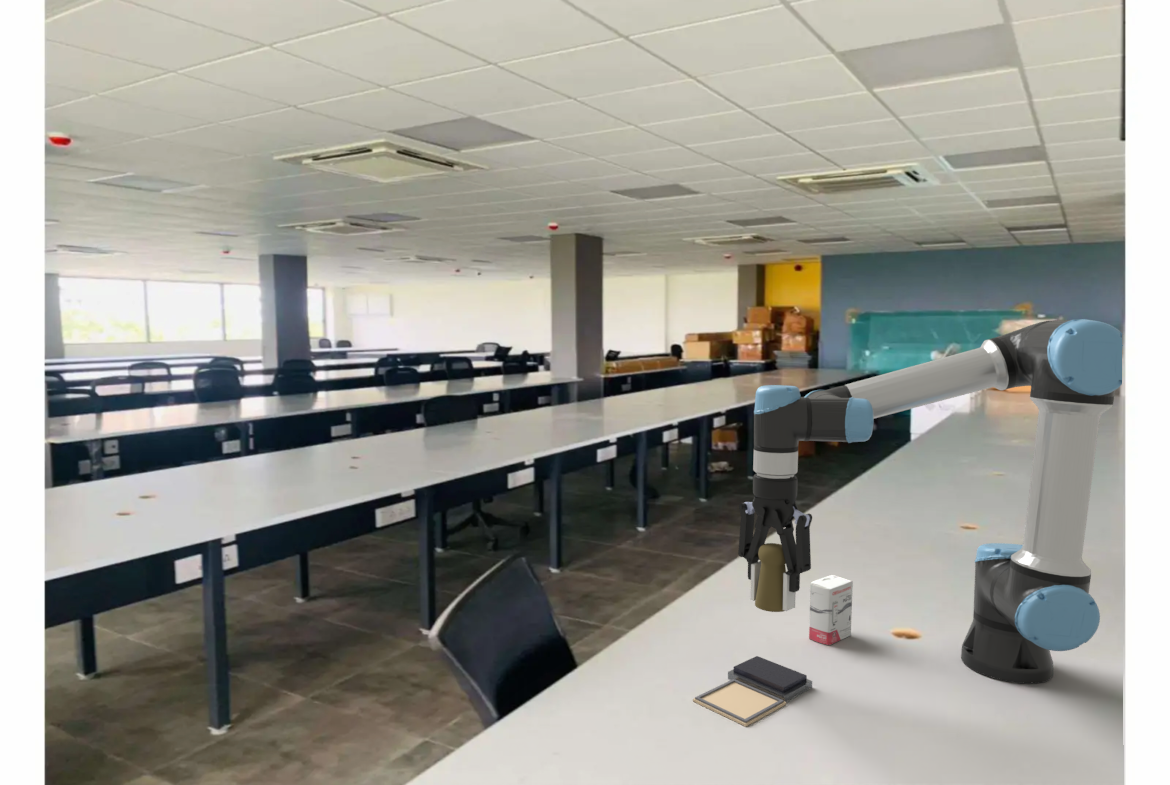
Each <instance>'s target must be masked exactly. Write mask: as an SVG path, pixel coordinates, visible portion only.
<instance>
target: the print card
mask: <svg viewBox="0 0 1170 785" xmlns="http://www.w3.org/2000/svg"><path fill="white" fill-rule="evenodd" d="M692 702H693V703H696V704H698V705H699V706H700V705H701V706H702V707H704V708H706V709H708V710H710V711H712V712H715V713H717V714H719V715H720V716H723V717H725V718H727V719H728V720H731V721H733V722H735V723H738V725H739V724H740V725H742V726H744V727H748V726H749V725H752V724H753V723H755V722H757V721H759V720H760V719H762V718H764V717H767V715H770V714H771V713H773V712H775V711H776V710H779V709H780V708H782V707H784V706H786V704H787V702H784V700H782V699H780V698H777V697H775V696H773V695H770V694H768V693H766V692H763V691H761V690H759V689H756V688H754V687H752V686H749V685H747V684H745V683H742V682H740V681H738V680H735V679H732V680H731V679H729V681H727V682H724V683H722V684H720V685H718V686H715V687H713V688H711V689H710V690H707V691H705V692H704V693H701V694H699V695H697V696H695V697H694V698H693V699H692Z"/></svg>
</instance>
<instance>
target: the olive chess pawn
mask: <svg viewBox="0 0 1170 785" xmlns="http://www.w3.org/2000/svg"><path fill="white" fill-rule="evenodd" d="M758 556H759V560H758V561H761V568H760V574H759V581H758V587H757V594H756V600H755V601H754V606H755V607H756V608H757V609H759V610H762V611H764V612H771V613H782V612H785V611H784V610H783V573H785V572H787V566H786V562H785V558H784V553H783V549H782V545H781V543H773V542H769V543H765V544H763V545H761V547H760V548H759V551H758Z"/></svg>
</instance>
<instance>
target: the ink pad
mask: <svg viewBox="0 0 1170 785" xmlns="http://www.w3.org/2000/svg"><path fill="white" fill-rule="evenodd" d="M727 679H728V680H732V679H735V680H738V681H740V682H742V683H745V684H747V685H749V686H752V687H754V688H756V689H759V690H761V691H763V692H766V693H768V694H770V695H773V696H775V697H777V698H780V699H782V700H784V702H786V703H787V702H788V701H790V700H792V699H794V698H795V697H798V696H799V695H801V694H804V693H805V692H807V691H809V690H810V689H812V688H813V680H810V679H809V678H807V674H805V673H801V672H799V671H796V670H795V669H792V668H788V667H786V666H784V665H781V664H779V663H776V662H774V661H771V660H768V659H765V658H763V657H761V656H758V655H756V656H754V657H751V658H749V659H748V660H745V661H743V662H741V663H738V664H736V665H735V666H733V669H731V670H729V671H727Z"/></svg>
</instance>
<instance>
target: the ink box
mask: <svg viewBox="0 0 1170 785" xmlns="http://www.w3.org/2000/svg"><path fill="white" fill-rule="evenodd" d="M853 583H854V581H853V580H850V579H846V578H844V577H842V576H841V577H840V576H838V575H835V574H830V575H827V576H824V577H821V578H818V579H815V580H813V581H811V582H810V585H809V586H810V587H809V620H808V621H809V622H808V623H809V628H808V630H809V631H808V639H809V640H811V641H814V642H816V643H821V644H822V645H827V646H832V645H833V644H835V643H837V642H840V641H842V640H844V639H846V638H848V637H851V636H852V614H853V612H852V610H853V607H852V606H853V586H854V584H853Z"/></svg>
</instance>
